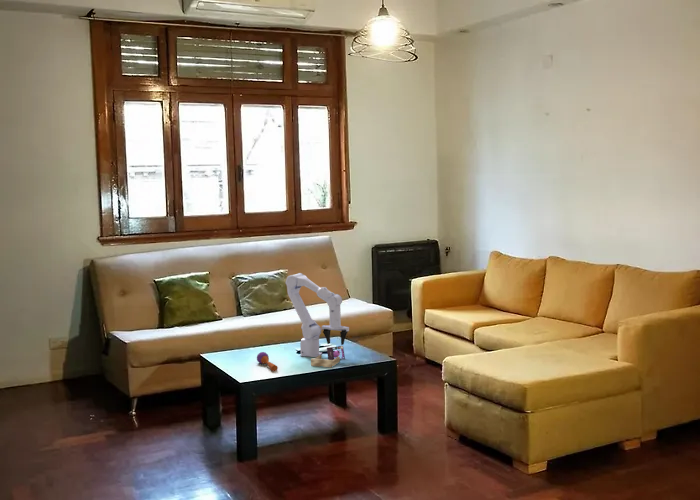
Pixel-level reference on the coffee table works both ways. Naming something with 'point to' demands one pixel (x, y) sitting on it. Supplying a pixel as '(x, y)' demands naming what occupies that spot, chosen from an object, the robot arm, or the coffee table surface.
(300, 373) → the coffee table surface
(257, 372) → the coffee table surface
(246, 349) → the coffee table surface
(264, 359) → the kendama
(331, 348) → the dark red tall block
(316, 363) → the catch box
